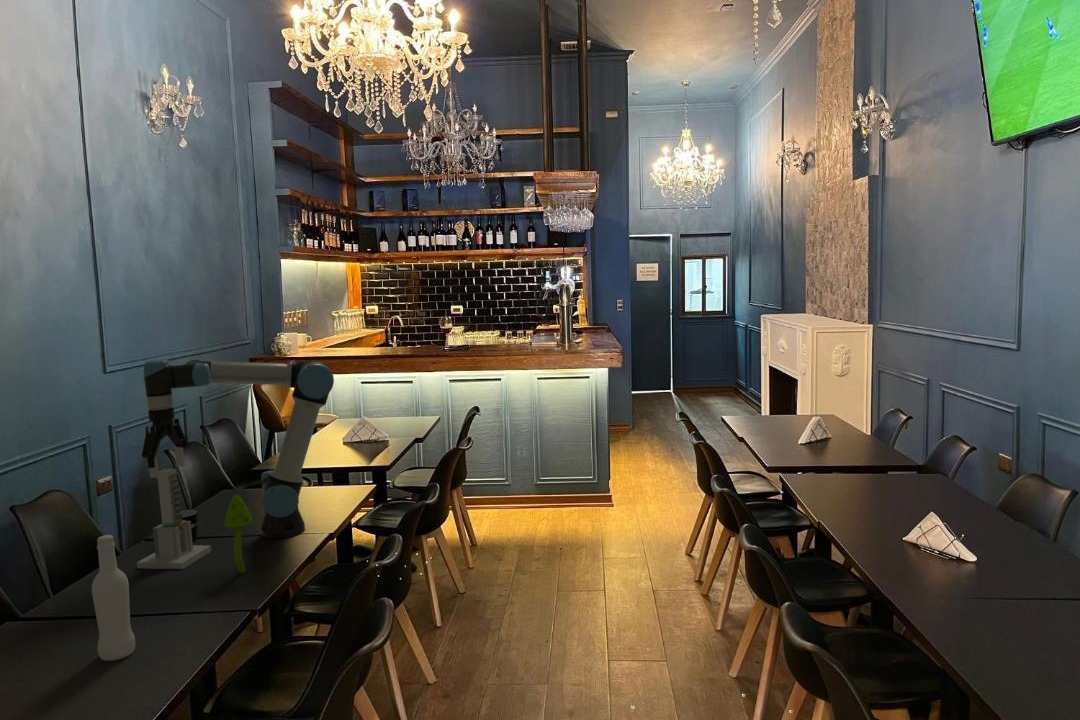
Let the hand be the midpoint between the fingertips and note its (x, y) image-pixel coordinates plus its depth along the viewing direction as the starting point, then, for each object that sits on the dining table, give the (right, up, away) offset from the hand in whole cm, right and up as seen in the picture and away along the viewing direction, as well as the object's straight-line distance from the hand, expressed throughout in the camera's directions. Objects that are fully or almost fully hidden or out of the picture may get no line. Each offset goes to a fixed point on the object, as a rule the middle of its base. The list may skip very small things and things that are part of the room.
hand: (168, 471), depth 254 cm
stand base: (+1, -30, +3) cm, 30 cm away
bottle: (+18, -36, -63) cm, 75 cm away
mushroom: (+29, -30, -12) cm, 43 cm away
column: (+1, -21, +2) cm, 21 cm away
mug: (-4, -28, +23) cm, 36 cm away
